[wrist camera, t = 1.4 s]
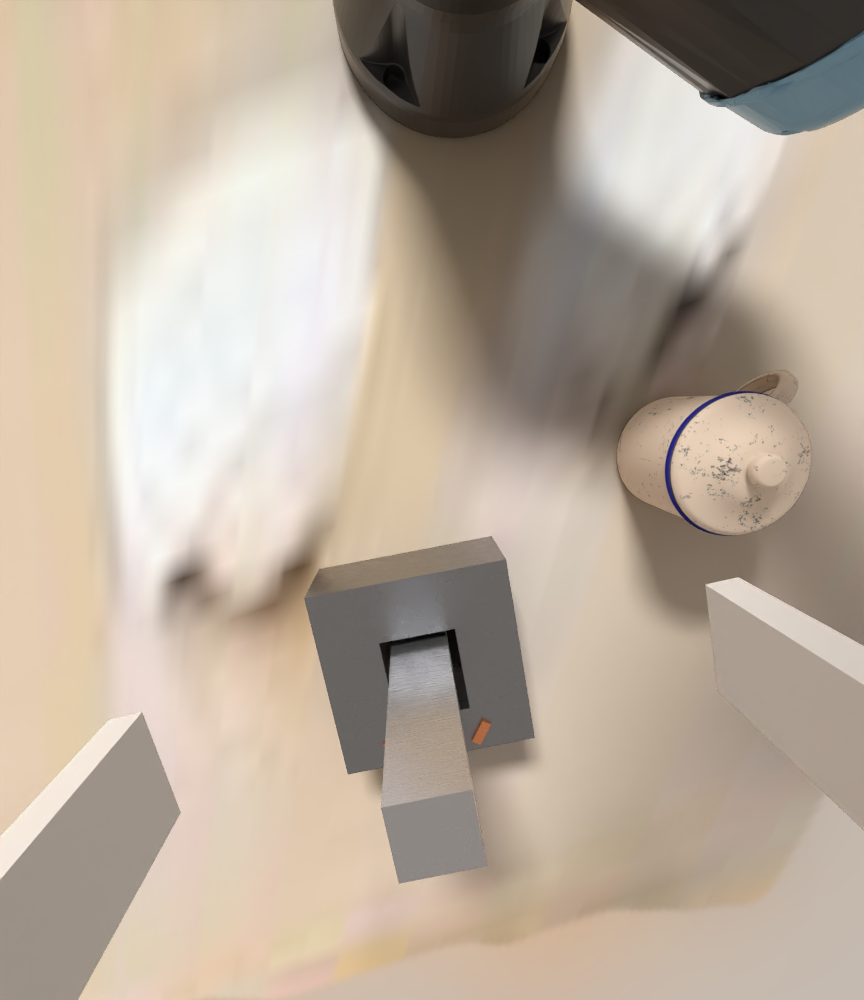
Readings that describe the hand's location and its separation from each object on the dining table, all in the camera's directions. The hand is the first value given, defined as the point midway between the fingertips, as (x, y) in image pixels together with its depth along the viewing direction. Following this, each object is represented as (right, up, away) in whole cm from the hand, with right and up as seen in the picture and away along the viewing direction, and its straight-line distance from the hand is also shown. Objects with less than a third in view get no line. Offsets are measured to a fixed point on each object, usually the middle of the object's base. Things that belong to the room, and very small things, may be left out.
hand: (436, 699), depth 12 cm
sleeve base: (-1, -6, +30) cm, 31 cm away
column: (-1, -6, +30) cm, 31 cm away
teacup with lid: (+19, +10, +28) cm, 36 cm away
